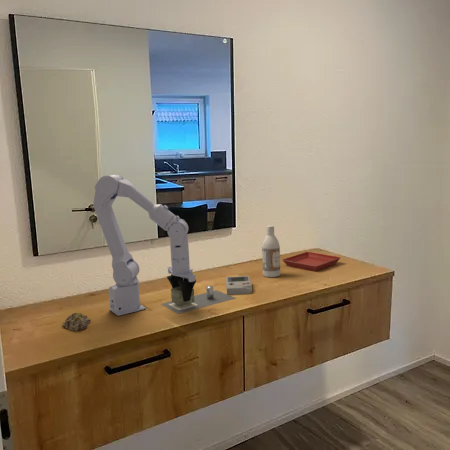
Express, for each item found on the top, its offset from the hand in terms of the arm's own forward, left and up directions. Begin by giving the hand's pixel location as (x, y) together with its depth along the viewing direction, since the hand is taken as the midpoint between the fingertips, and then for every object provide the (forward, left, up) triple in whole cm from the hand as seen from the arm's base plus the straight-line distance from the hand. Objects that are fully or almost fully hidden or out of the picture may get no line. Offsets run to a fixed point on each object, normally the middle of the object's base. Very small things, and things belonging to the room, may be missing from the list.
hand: (182, 298), depth 148 cm
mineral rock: (-32, +8, -4) cm, 33 cm away
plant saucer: (+69, +11, -4) cm, 70 cm away
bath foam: (+46, +10, -3) cm, 47 cm away
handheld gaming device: (+25, +3, -4) cm, 25 cm away
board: (+6, 0, -3) cm, 7 cm away
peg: (+11, 0, -2) cm, 11 cm away
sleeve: (0, 0, -1) cm, 1 cm away
